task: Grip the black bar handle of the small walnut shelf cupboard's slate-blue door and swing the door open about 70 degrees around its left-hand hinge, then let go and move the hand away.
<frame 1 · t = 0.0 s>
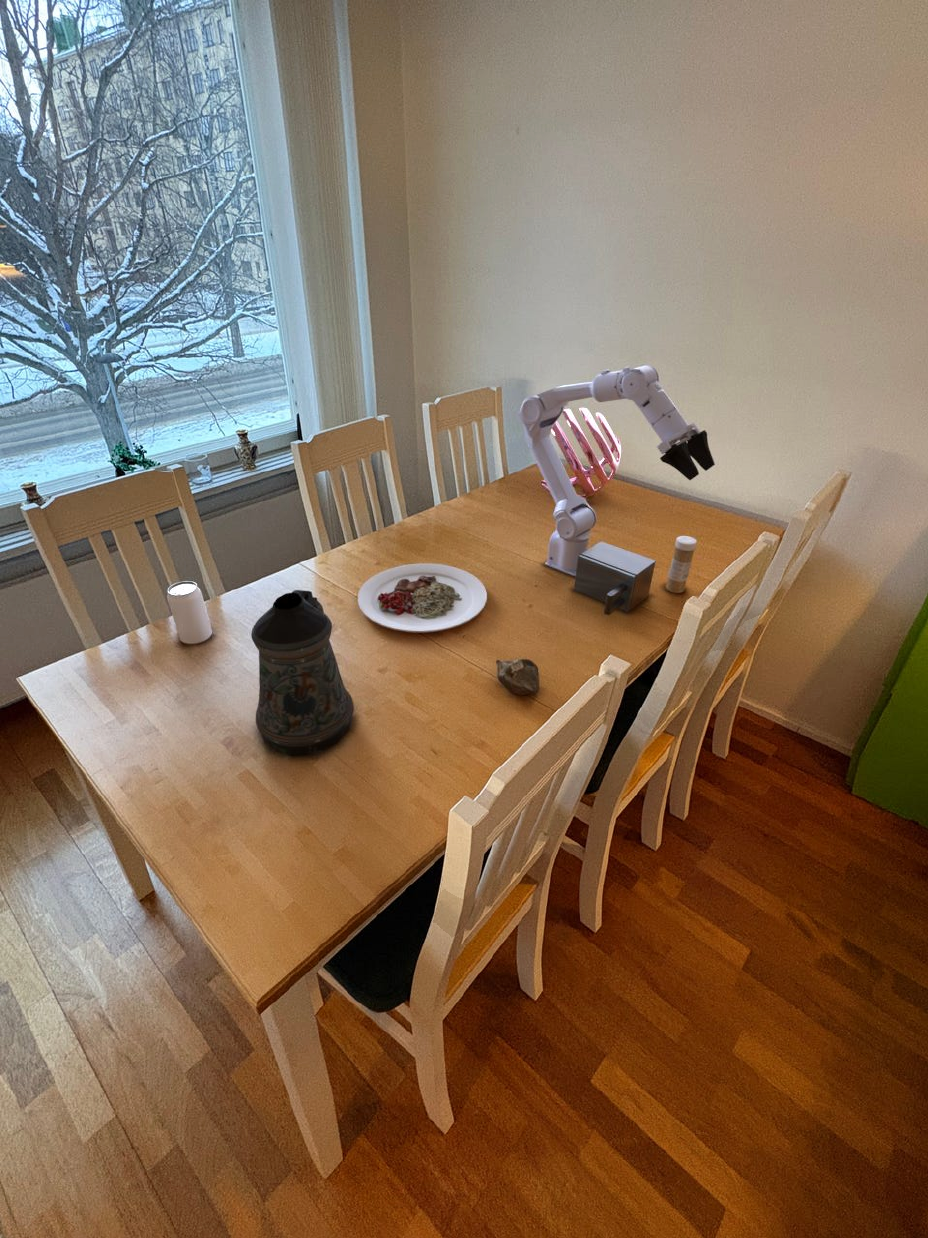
hand: (702, 472, 121), 32 cm above the table, tool tilted 50°, fingers open, 7 cm apart
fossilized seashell: (516, 686, 114), on the table
beer stein: (306, 719, 106), on the table
can: (196, 637, 127), on the table
cupboard: (611, 592, 143), on the table
spiral basket: (576, 493, 196), on the table
cupboard door: (595, 588, 136), point 5 cm above the table, hinge at 0.0°
plated food: (422, 601, 139), on the table
sprinkles bottle: (674, 589, 145), on the table
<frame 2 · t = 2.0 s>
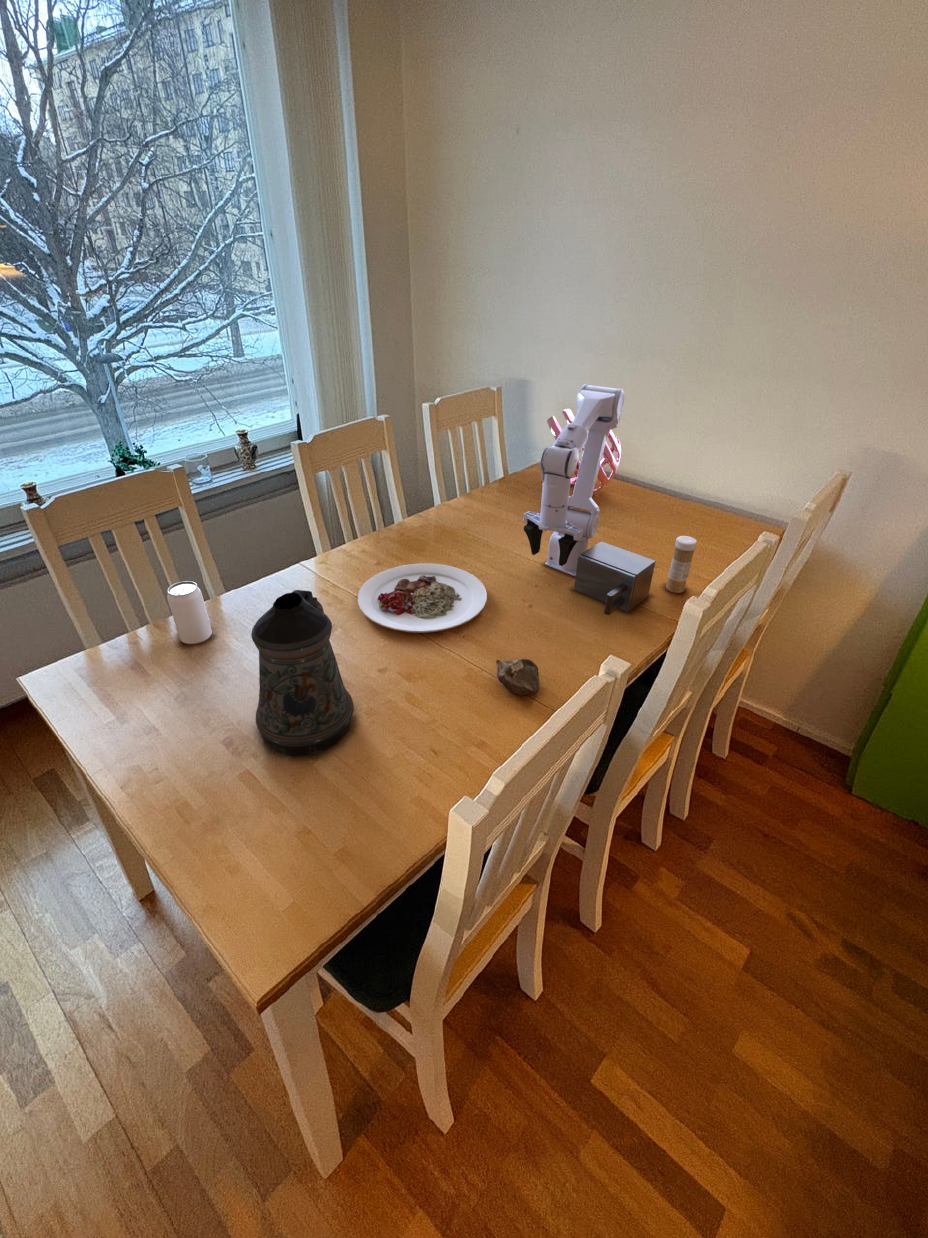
hand: (548, 558, 135), 10 cm above the table, tool pointing down, fingers open, 7 cm apart
nothing on the table moved.
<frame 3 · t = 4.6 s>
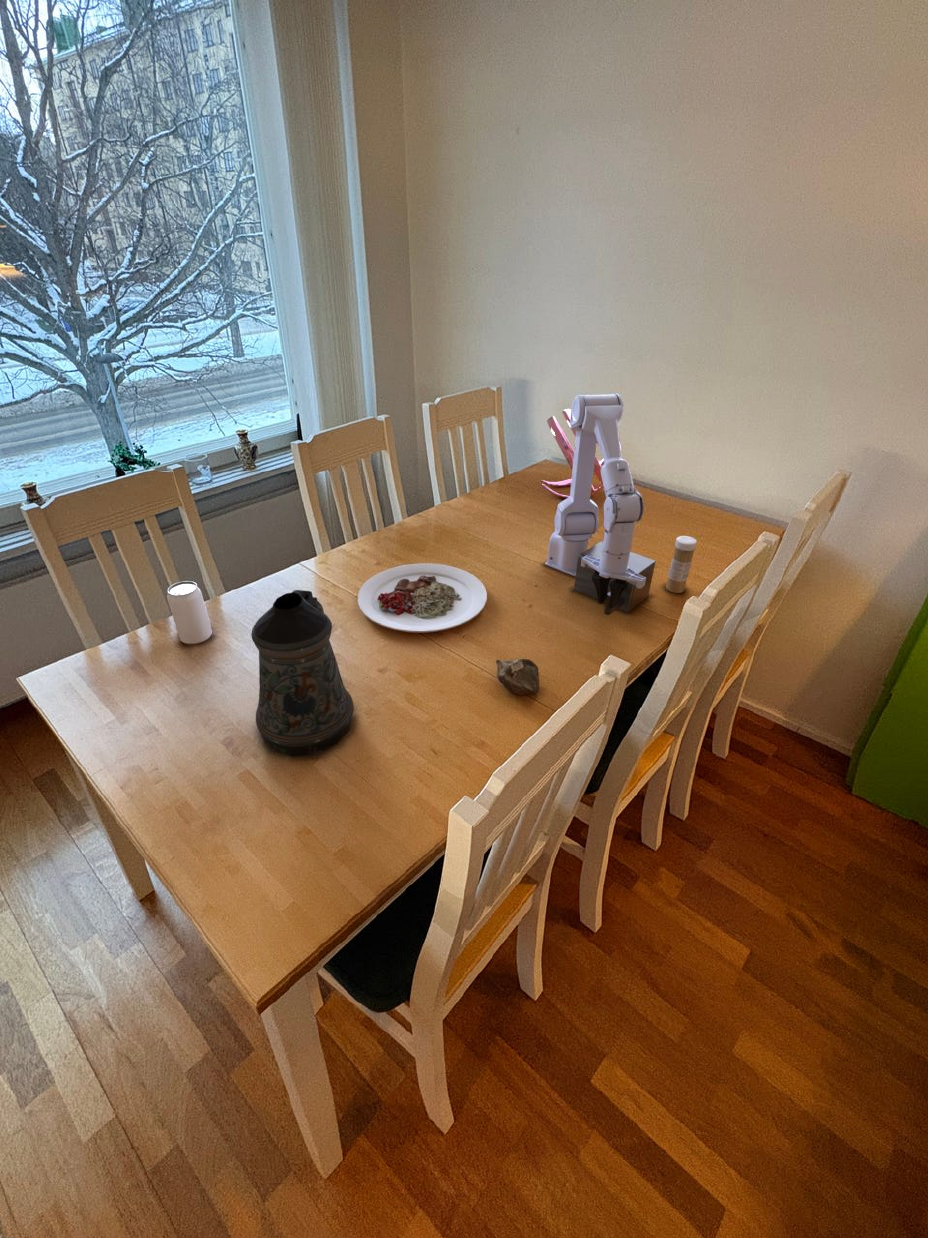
hand: (606, 604, 131), 4 cm above the table, tool pointing down, fingers closed
cupboard door: (595, 588, 136), point 5 cm above the table, hinge at 0.1°, touching gripper
everything else where it was.
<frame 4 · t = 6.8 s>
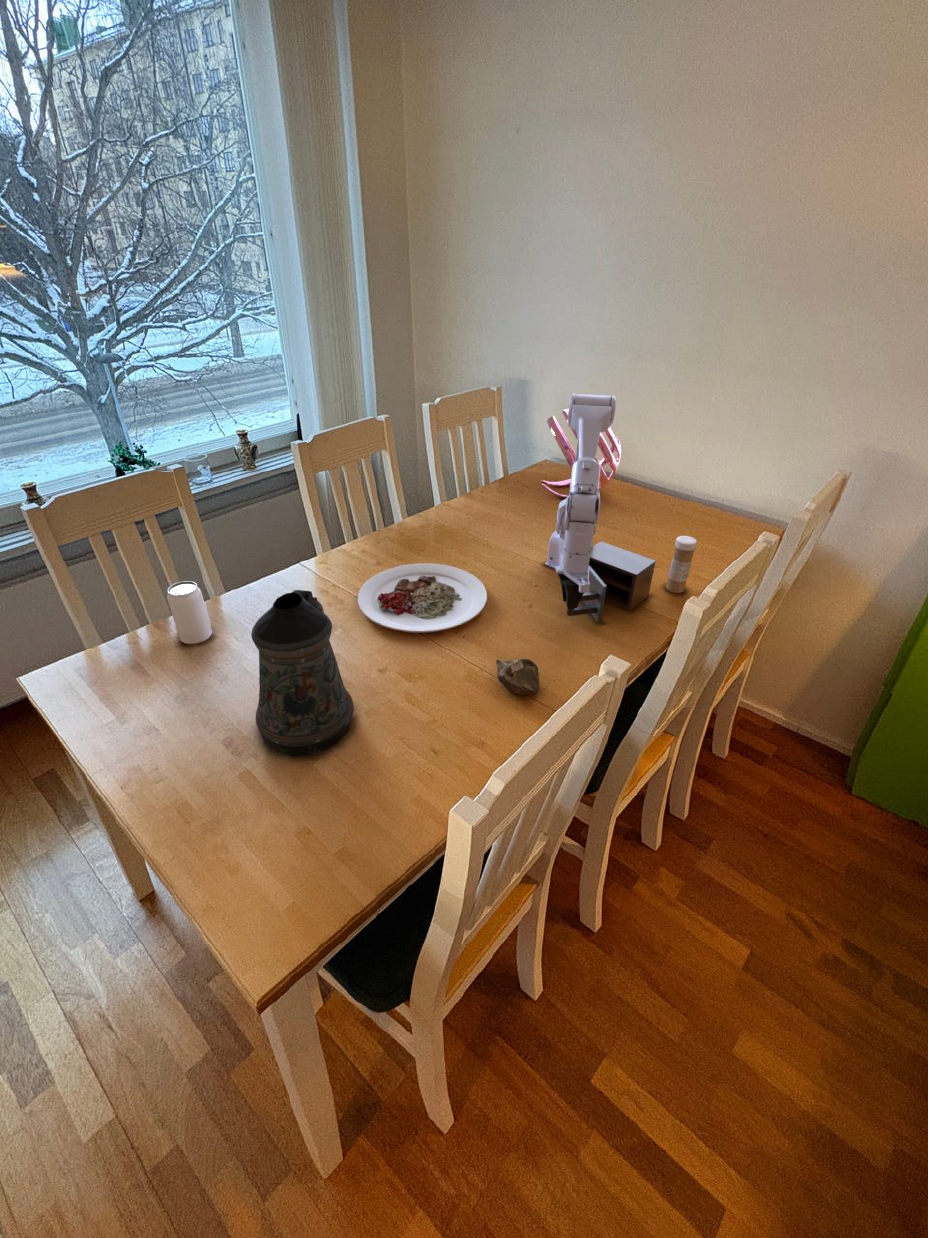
hand: (569, 604, 131), 4 cm above the table, tool pointing down, fingers closed
cupboard door: (575, 589, 135), point 5 cm above the table, hinge at 34.7°, touching gripper
everything else where it was.
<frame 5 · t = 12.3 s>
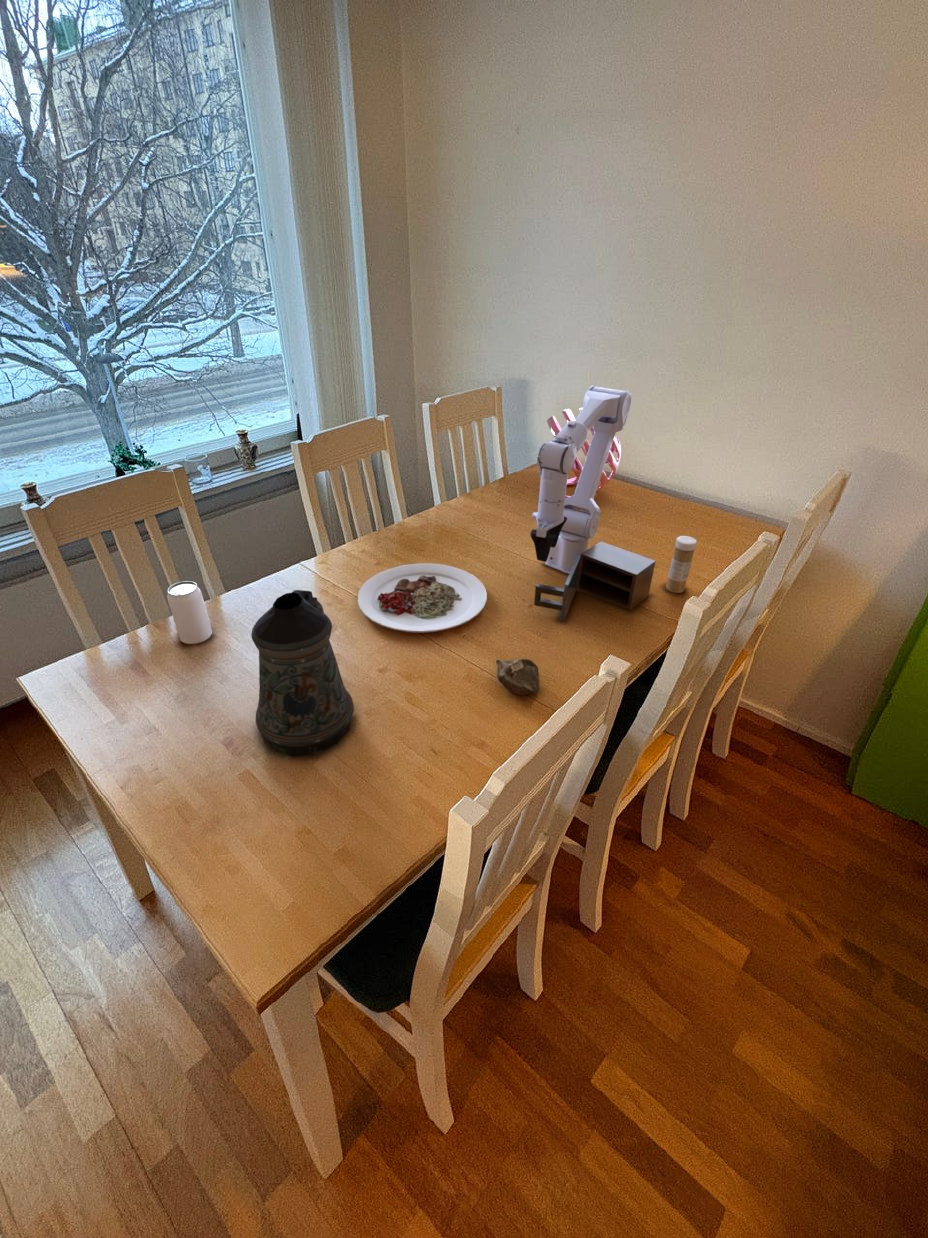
hand: (546, 553, 138), 10 cm above the table, tool pointing down, fingers open, 7 cm apart
cupboard door: (556, 584, 137), point 5 cm above the table, hinge at 67.5°
everything else where it was.
at the end: cupboard door at +68° (first picture: +0°) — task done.
